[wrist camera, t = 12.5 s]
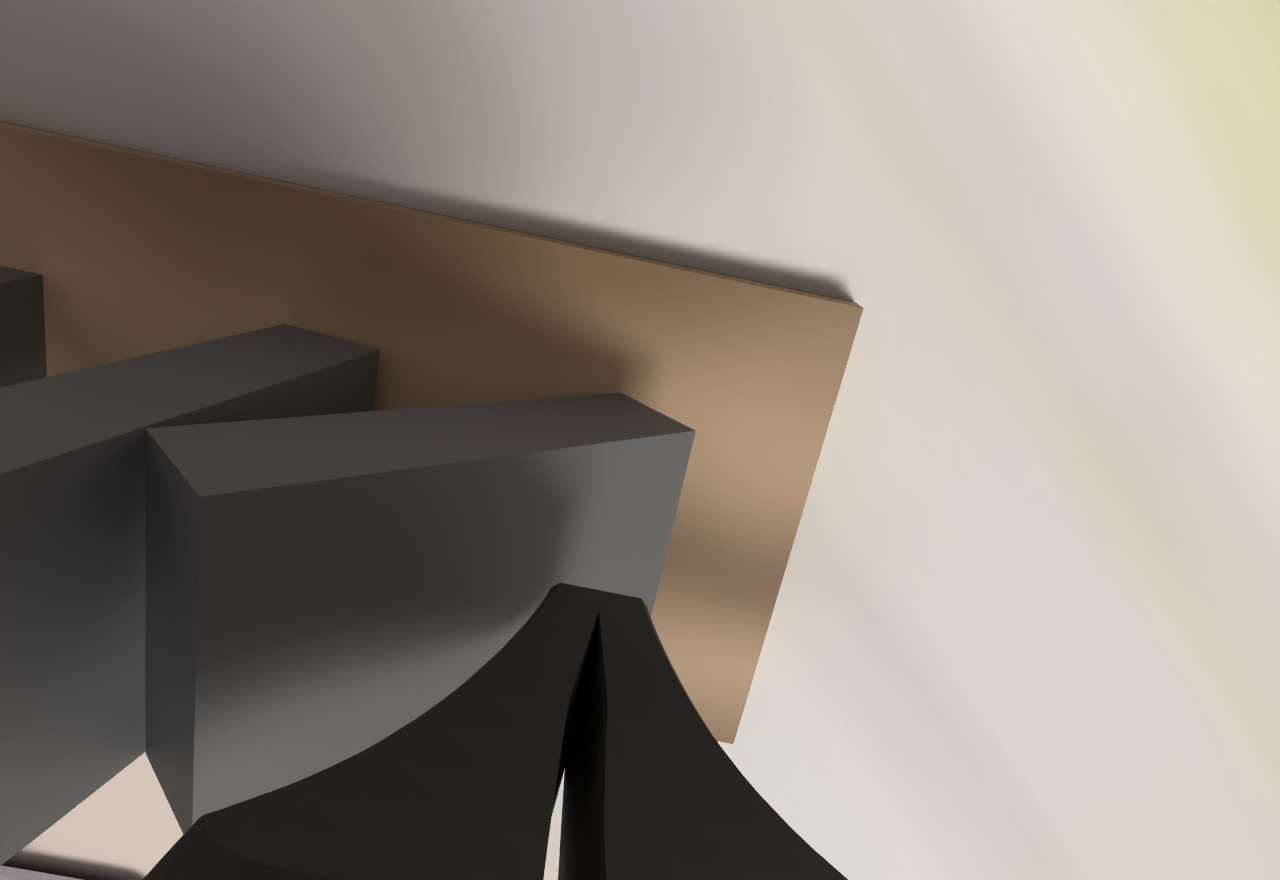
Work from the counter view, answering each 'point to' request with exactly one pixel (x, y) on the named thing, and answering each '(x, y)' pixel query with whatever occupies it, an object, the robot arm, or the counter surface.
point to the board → (461, 342)
